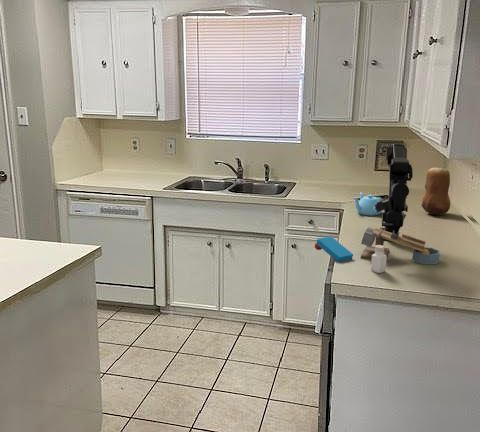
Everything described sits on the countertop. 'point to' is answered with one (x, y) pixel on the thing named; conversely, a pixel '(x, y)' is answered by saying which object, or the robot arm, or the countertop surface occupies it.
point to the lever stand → (371, 250)
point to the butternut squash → (437, 191)
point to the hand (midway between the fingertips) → (396, 233)
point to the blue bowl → (426, 256)
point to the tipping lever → (392, 238)
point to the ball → (424, 251)
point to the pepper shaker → (378, 260)
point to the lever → (333, 249)
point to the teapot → (367, 205)
